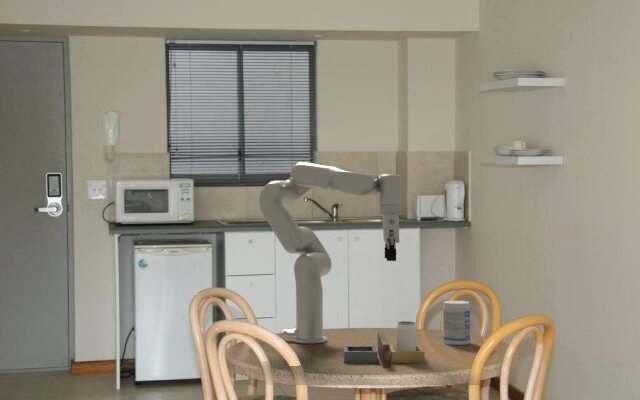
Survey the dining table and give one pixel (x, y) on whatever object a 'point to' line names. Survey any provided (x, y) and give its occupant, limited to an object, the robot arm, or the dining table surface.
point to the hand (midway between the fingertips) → (390, 259)
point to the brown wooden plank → (383, 349)
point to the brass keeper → (406, 355)
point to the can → (406, 336)
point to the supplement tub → (456, 322)
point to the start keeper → (360, 354)
